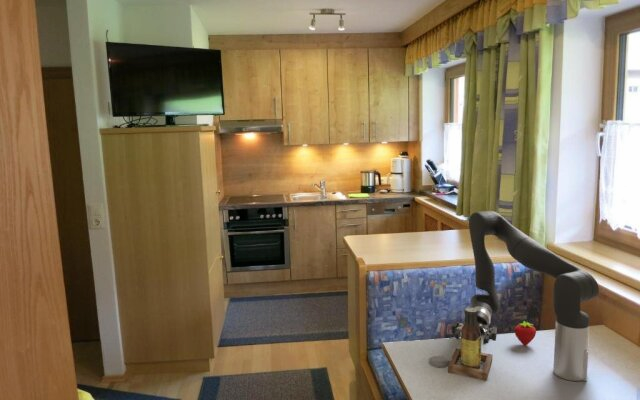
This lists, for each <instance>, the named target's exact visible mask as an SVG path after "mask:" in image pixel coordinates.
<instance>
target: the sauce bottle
mask: <svg viewBox="0 0 640 400" xmlns="http://www.w3.org/2000/svg"><path fill="white" fill-rule="evenodd" d="M477 314H478V311H477V309H475V308H472V307H465V308H464V323H465V324H464V325H463V327H462V330H461V331H460V332H461V334H462V335H460V349H461V358H460V360H461V361H460V362H461V366H465V367H470V368H475V369H480V370H481V364H482V362H481V353H482V337H481V332H480V329H479V326H478V323H477Z"/></svg>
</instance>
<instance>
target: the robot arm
mask: <svg viewBox="0 0 640 400" xmlns="http://www.w3.org/2000/svg"><path fill="white" fill-rule="evenodd" d="M468 228H469V234H470V235H469V236H470V241H471V246H472V247H471V248H472V252H473V258H474V269H475V270H474V272H475V274H474V275H475V277H474V278H475V280H474V281H475V287H476V288H477V289H478V290H481V291H485V292H486V293H487V294H481V293H480V294H479V293H477V294H474V295H473V296H472V297H471V300H470V305H471V306H470V307H471V308H475V309H477V311H478V314H477V323H478V326H479V329H480V332H481V339H483V340H482V344H483V345H484V346H485V345H487V344H488V343H489V341H490V340H491V341H493V342H495V341H497V332H498V331H497V329H498V328H497V326H493V327H489V326H490V325H491V318H492V316H493V315H496V314H498V312H499V311H500V309H501V303H500V299H499V296H498V293H497V290H496V276H495V274H496V271H495V267H494V262H493V261H492V259H491V257H490V255H489V253H488V251H487V249H486V243H485V236H490V235H491V236H495V237H497V238H498V239H500V240H501V241H503V242H504V244H505V245H506V248H507V251H508V254H509V255H510V256H511V257H512V258H513V259H514V260H515V261H516V262H518V263H519V264H521V265H522V266H524V267H525V268H527V269H529V270H532V271H535V272H537V273H540V274H542V275H543V274H544V275H546V276H550V277H552V278H554V284H553V311H554V314H555V329H554V330H555V332H554V333H555V334H554V335H555V336H554V349H553V350H554V351H553V368H552V369H553V373H554V375H556V376H557V377H559V378H561V379H563V380H567V381H571V382H581V381H582V382H583V381H584V382H587V380H588V366H589V365H588V364H589V338H590V337H589V336H590V322H591V320H590V319H591V318H590V316H589V314H588V313H586V312H585V311H582V310H581V303H583V302H587V301H590V300H593V299H594V298H596V297H597V296H598V295H599V292H600V288H599V284H598V282H597V280H596V278H595V277H594V276H592V274H590V273H589V272H588V271H586V270H584V269H582V268H580V267H579V266H576V265H575V264H572V263H570V262H569V261H567V260H565V259H563V258H562V257H561V256H559V255H557V254H555V253H554V252H553V251H551V250H550V249H548V248H546V247H545V246H544V245H542V244H541V243H540V242H538V241H536V240H535V239H533V238H532V237H530V236H528V235H527V234H526V233H524V232H522V231H521V230H520V229H518V228H517V227H515V226H513V225H512V224H511V223H510V222H509V221H508V220H507V219H506V218H504V217H503V215H501V214H499V212H497V211H493V210H483V211H482V210H481V211H475V212H473V213H471V215H470V216H469V218H468ZM464 324H465V322H463V323H460V321H459V320H455V321H454V322H453V324H452V325H451V334H453V335H454V338H455V340H457V341H459V340H460V339H461V335H462V334H461V330H462V327H463V325H464Z"/></svg>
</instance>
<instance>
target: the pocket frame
mask: <svg viewBox="0 0 640 400" xmlns="http://www.w3.org/2000/svg"><path fill="white" fill-rule="evenodd" d="M460 359H461V348H460V347H459V348H457V347H455V349H454V352H453V353H452V356H451V358H450V359H449V360H450V362H449V365H448V367H447V373H448V374H453V375H457V376H462V377H468V378H473V379H477V380H483V381H488V378H489V375H490V371H491V369H492V364H493V354H490V353H485V352H481V363H482V362H483V363H484V365H483V368H482V369H481V368H480V369H475V368H470V367H465V366H462V365H459V364H458V362H459V360H460Z"/></svg>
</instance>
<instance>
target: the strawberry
mask: <svg viewBox="0 0 640 400" xmlns="http://www.w3.org/2000/svg"><path fill="white" fill-rule="evenodd" d="M524 319H525V320H527V318H524ZM525 320H523V322H522V323H520V322H519V323H517V325H516V326H514V327H515V328H514V335H515V337H516V338H517V339H518V341H519V342H520V343H521V344H522V345H523V346H528V345H529V344H530V343H531V342H532V341H533V340H534V338H535V337H536V334H537V329H536V327H535V326H534V324H533V323H530V322H528V321H525Z"/></svg>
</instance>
